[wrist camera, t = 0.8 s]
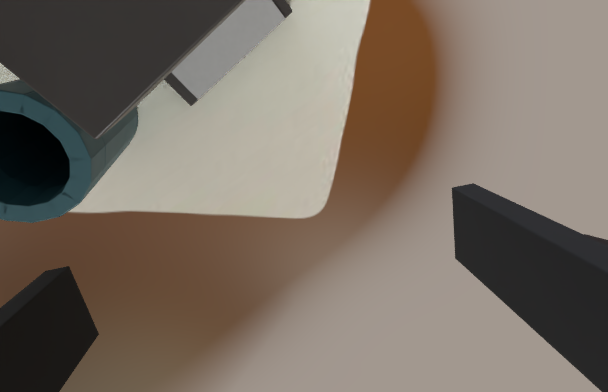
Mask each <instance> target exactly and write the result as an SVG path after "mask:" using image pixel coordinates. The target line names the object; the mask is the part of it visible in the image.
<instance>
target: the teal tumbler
mask: <svg viewBox="0 0 608 392" xmlns="http://www.w3.org/2000/svg"><path fill="white" fill-rule="evenodd" d="M137 126H138V113H137V108H136V106H135V107H134V108H133V109H132V110H131V111H130V112H129V113H128V114H127V115H126V116H124V117H123V118H122V119H121V120H120V121H119V122H118V123H116V124H115V125H114V126H113V127H112V128H111V129H109V130H108V131H107V132H106V133H105V134H104V135H103V136H101V137H100V138H99V139H94V138H93V137H91V136H90V135H89V134H88V133H87V132H85V131H84V130H83V129H82V128H80V127H79V126H78V125H77V124H75V123H74V122H73V121H72V120H70V119H69V118H68V117H67V116H66V115H64V114H63V113H62V112H61V111H59V110H58V109H57V108H56V107H54V106H53V105H52V104H51V103H49V102H48V101H47V100H46V99H44V98H43V97H42V96H41V95H40V94H38V93H37V92H36V91H35V90H33V89H32V88H31V87H30V86H28V85H27V84H26V83H25V82H23V81H22V80H21V79H19V80H15V81H11V82H6V83H2V84H0V219H2V220H7V221H18V222H30V223H33V222H39V221H43V220H47V219H52V218H56V217H60V216H62V215H64V214H65V213H66V212H68V211H69V210H71V209H72V208H74V207H75V206H77V205H78V204H79V203H80V202H81V201H82V200H83V199H84V198H85V197H86V195H87V194H88V193H89V192H90V191H91V189H92V188H93V187H94V186H95V184H96V183H97V182H98V181H99V180H100V179H101V177H102V176H103V175H104V174H105V172H106V171H107V170H108V169H109V168H110V166H111V165H112V164H113V163H114V162H115V160H116V159H117V158H118V157H119V156H120V154H121V153H122V152H123V151H124V150H125V148H126V147H127V146H128V145H129V143H130V141H131V140H132V138H133V137H134V135H135V133H136V130H137Z"/></svg>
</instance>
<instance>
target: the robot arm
mask: <svg viewBox="0 0 608 392" xmlns="http://www.w3.org/2000/svg"><path fill="white" fill-rule="evenodd" d="M452 198H453V219H454V237H455V238H454V239H455V258H456V259H457V260H458V261H459V262H460V263H461V264H462V265H463V266H465V267H466V268H467V269H468V270H469V271H470V272H471V273H472V274H473V275H474V276H475V277H477V278H478V279H479V280H480V281H481V282H482V283H483V284H484V285H485V286H486V287H488V288H489V289H490V290H491V291H492V292H493V293H494V294H495V295H496V296H498V297H499V298H500V299H501V300H502V301H503V302H504V303H505V304H506V305H507V306H509V307H510V308H511V309H512V310H513V311H514V312H515V313H516V314H517V315H518V316H519V317H521V318H522V319H523V320H524V321H525V322H526V323H527V324H528V325H529V326H530V327H531V328H533V329H534V330H535V331H536V332H537V333H538V334H539V335H540V336H541V337H543V338H544V339H545V340H546V341H547V342H548V343H549V344H550V345H551V346H552V347H553V348H555V349H556V350H557V351H558V352H559V353H560V354H561V355H562V356H563V357H564V358H566V359H567V360H568V361H569V362H570V363H571V364H572V365H573V366H574V367H576V368H577V369H578V370H579V371H580V372H581V373H582V374H584V376H585V377H586V378H588V379H589V380H590V381H591V382H592V383H593V384H594V385H595V386H596V387H597V388H599V389H600V390H601V391H602V392H608V240H605V239H601V238H597V237H593V236H590V235H585V234H584V235H583V234H581V233H579V232H576V231H574V230H572V229H570V228H568V227H566V226H563V225H561V224H559V223H557V222H555V221H553V220H551V219H548V218H546V217H544V216H542V215H540V214H537V213H536V212H534V211H531V210H529V209H527V208H525V207H523V206H521V205H518V204H516V203H514V202H512V201H510V200H508V199H505V198H503V197H501V196H499V195H497V194H495V193H493V192H490V191H488V190H486V189H484V188H482V187H480V186H478V185H476V184H469V185H464V186H458V187H454V188H452ZM98 335H99V334H98V331H97V329H96V327H95V324H94V322H93V320H92V318H91V315H90V313H89V311H88V308H87V306H86V304H85V302H84V299H83V297H82V295H81V293H80V290H79V288H78V286H77V283H76V281H75V279H74V277H73V274H72V272H71V270H70V268H69V266H67V267H63V268H58V269H53V270H48V271H45V272H44V273H42V274H41V275H40V276H39V277H38V278H36V279H35V280H34V281H33V282H31V283H30V284H29V285H28V286H27V287H25V288H24V289H23V290H22V291H21V292H19V293H18V294H17V295H16V296H14V297H13V298H12V299H11V300H10V301H8V302H7V303H6V304H5V305H3V306H2V307H1V308H0V392H59V391H60V390H61V388H62V387H63V385H64V384H65V382H66V381H67V380H68V378H69V376H70V375H71V374H72V372H73V371H74V369H75V368H76V366H77V365H78V364H79V362H80V361H81V359H82V358H83V356H84V355H85V353H86V352H87V351H88V349H89V348H90V346H91V345H92V343H93V342H94V340H95V339H96V337H97V336H98Z"/></svg>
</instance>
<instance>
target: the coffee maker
mask: <svg viewBox="0 0 608 392" xmlns="http://www.w3.org/2000/svg"><path fill="white" fill-rule="evenodd" d="M291 12H292V9H291V8H290V7H289V5H288V4H287V2H286V1H285V0H0V63H1V64H2V65H4V66H5V67H6V68H7V69H9V70H10V71H11V72H12V73H14V74H15V75H16V76H17V77H19V78H20V79H21V80H22V81H23V82H25V83H26V84H27V85H28V86H30V87H31V88H32V89H33V90H35V91H36V92H37V93H38V94H40V95H41V96H42V97H43V98H44V99H46V100H47V101H48V102H49V103H51V104H52V105H53V106H54V107H56V108H57V109H58V110H59V111H61V112H62V113H63V114H64V115H66V116H67V117H68V118H69V119H70V120H72V121H73V122H74V123H75V124H77V125H78V126H79V127H80V128H82V129H83V130H84V131H85V132H87V133H88V134H89V135H90V136H91V137H93V138H94V139H99V138H100V137H101V136H103V135H104V134H105V133H106V132H107V131H108V130H109V129H111V128H112V127H113V126H114V125H115V124H116V123H118V122H119V121H120V120H121V119H122V118H123V117H124V116H126V115H127V114H128V113H129V112H130V111H131V110H132V109H133V108H134V107H135V106H136V105H137V104H139V103H140V102H141V101H142V100H143V99H144V98H145V97H146V96H147V95H148V94H149V93H150V92H151V91H152V90H153V89H154V88H155V87H156V86H157V85H158V84H159V83H160V82H161V81H162V80H163V79H164V80H165V81H166V82H167V83H168V84H169V85H170V86H171V87H172V88H173V89H174V90H175V91H176V92H177V93H178V94H179V95H180V96H181V97H182V98H183V99H184V100H185V101H186V102H187V103H188V104H189V105H190V106H192V105H193V104H194V103H195V102H196V101H197V100H199V99H200V98H201V97H202V96H203V95H204V94H205V93H207V92H208V91H209V90H210V89H211V88H212V87H213V86H214V85H215V84H216V83H217V82H218V81H219V80H220V79H222V78H223V77H224V76H225V75H226V74H227V73H228V72H229V71H230V70H231V69H232V68H233V67H234V66H235V65H236V64H238V63H239V62H240V61H241V60H242V59H243V58H244V57H245V56H246V55H247V54H248V53H249V52H250V51H251V50H252V49H254V48H255V47H256V46H257V45H258V44H259V43H260V42H261V41H262V40H263V39H264V38H265V37H266V36H267V35H268V34H270V33H271V32H272V31H273V30H274V29H275V28H276V27H277V26H278V25H279V24H280V23H281V22H282V21H283V20H285V18H286V17H287V16H288V15H289V14H290V13H291Z"/></svg>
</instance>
